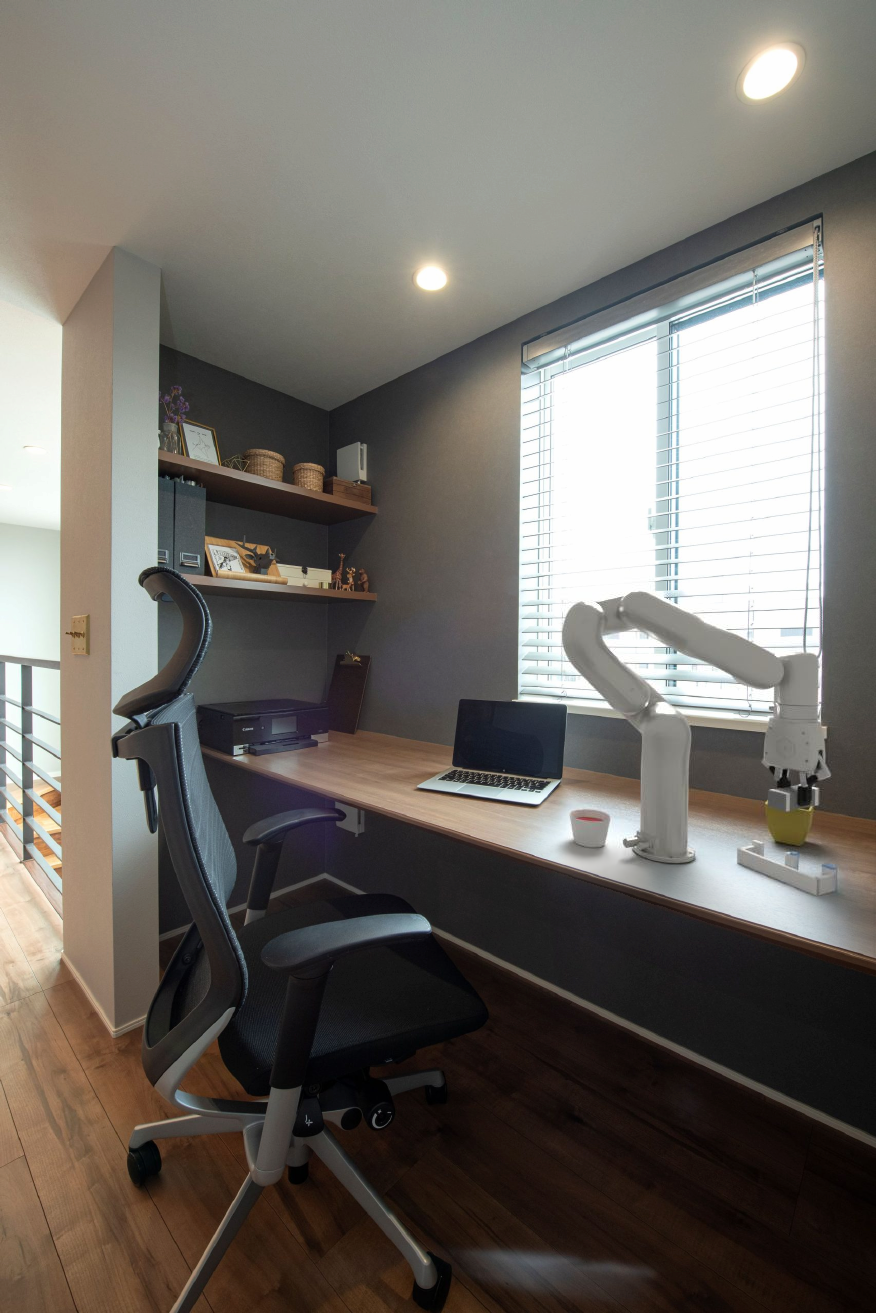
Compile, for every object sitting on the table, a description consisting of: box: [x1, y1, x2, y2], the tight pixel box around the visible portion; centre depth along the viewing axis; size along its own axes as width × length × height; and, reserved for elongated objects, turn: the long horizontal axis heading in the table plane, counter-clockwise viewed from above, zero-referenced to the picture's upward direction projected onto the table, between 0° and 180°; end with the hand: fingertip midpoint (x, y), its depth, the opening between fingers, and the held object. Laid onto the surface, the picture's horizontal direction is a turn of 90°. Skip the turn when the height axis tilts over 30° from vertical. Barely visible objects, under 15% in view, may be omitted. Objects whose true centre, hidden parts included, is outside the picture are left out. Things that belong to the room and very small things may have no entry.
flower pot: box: [764, 799, 815, 847], centre depth 125 cm, size 9×9×9 cm
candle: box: [569, 808, 611, 849], centre depth 124 cm, size 9×9×6 cm
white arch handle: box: [736, 839, 838, 897], centre depth 107 cm, size 6×16×4 cm, turn 23°
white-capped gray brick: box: [767, 783, 821, 812], centre depth 111 cm, size 11×4×4 cm, turn 114°
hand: (793, 801), depth 111 cm, fingers closed on white-capped gray brick, 3 cm apart
